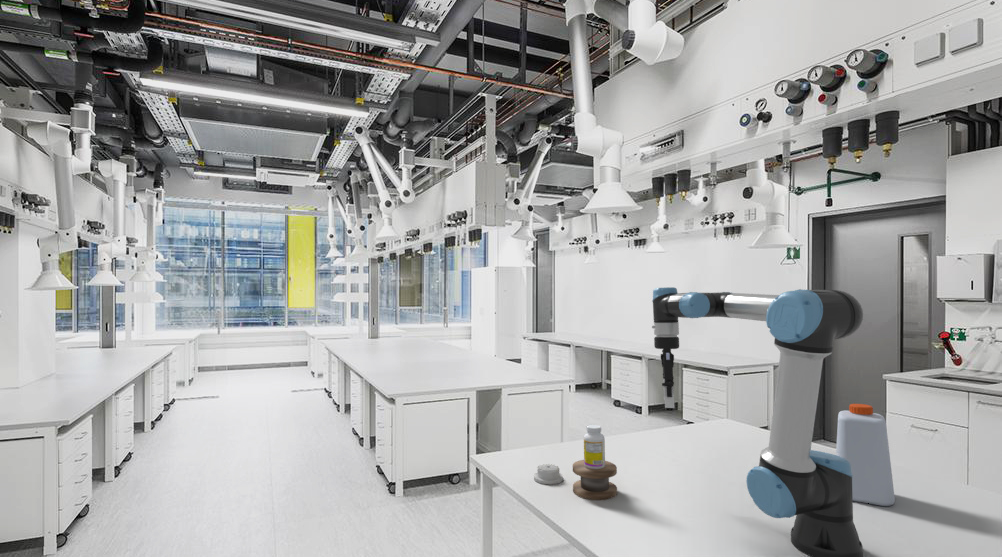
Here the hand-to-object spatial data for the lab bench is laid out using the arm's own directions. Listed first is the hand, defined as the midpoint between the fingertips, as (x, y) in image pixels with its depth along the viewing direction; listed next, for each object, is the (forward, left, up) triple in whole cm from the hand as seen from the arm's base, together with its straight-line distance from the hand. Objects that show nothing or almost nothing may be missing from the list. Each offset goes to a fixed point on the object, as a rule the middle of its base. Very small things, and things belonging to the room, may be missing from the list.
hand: (668, 403), depth 161 cm
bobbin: (+9, +22, -29) cm, 37 cm away
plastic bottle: (-13, -58, -29) cm, 66 cm away
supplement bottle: (+8, +22, -21) cm, 31 cm away
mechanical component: (+23, +33, -29) cm, 50 cm away
